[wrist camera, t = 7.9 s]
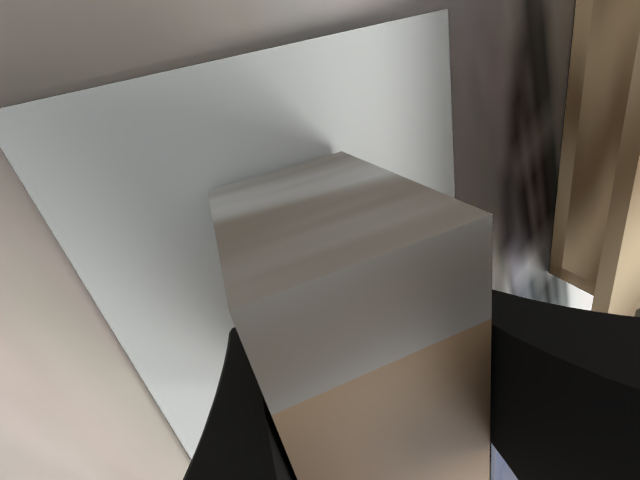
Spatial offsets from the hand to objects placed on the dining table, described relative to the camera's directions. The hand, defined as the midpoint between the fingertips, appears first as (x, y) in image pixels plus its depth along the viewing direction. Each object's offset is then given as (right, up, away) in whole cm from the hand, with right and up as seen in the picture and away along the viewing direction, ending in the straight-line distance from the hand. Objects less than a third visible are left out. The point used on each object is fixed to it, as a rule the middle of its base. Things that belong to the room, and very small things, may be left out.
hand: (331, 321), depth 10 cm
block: (-1, +1, +2) cm, 2 cm away
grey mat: (-1, +1, +3) cm, 3 cm away
